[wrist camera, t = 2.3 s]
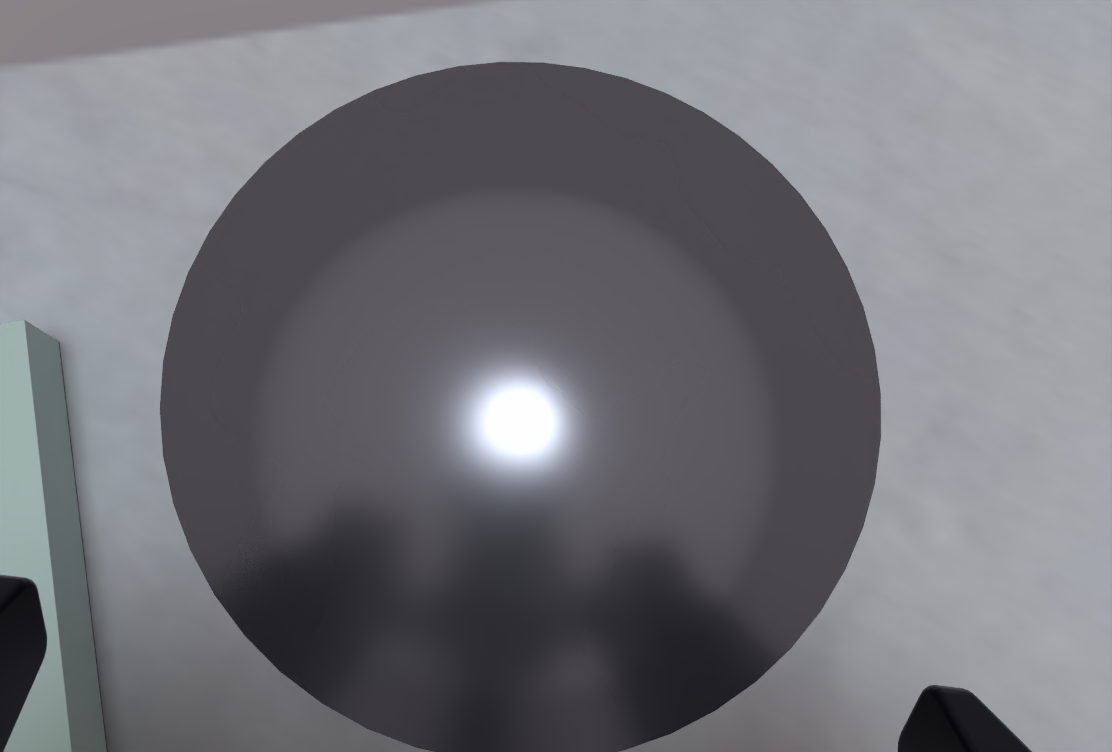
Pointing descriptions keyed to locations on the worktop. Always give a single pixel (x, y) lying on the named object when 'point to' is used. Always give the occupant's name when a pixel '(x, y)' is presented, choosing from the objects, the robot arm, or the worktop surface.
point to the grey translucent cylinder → (520, 411)
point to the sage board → (46, 544)
